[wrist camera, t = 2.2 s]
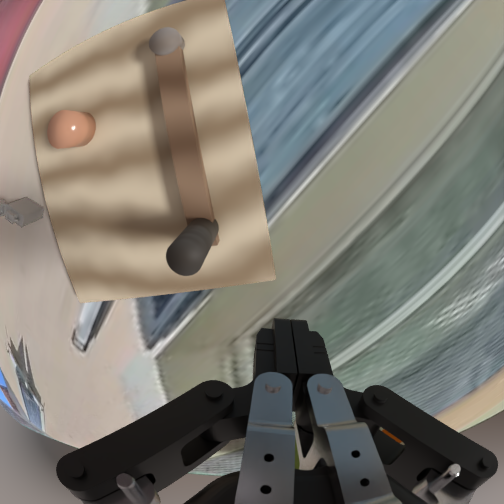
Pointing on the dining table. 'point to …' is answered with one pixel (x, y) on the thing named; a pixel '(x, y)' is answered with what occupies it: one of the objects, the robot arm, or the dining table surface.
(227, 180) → the board
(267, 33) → the dining table surface
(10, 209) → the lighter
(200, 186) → the lever
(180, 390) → the dining table surface
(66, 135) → the peach rounded cube
